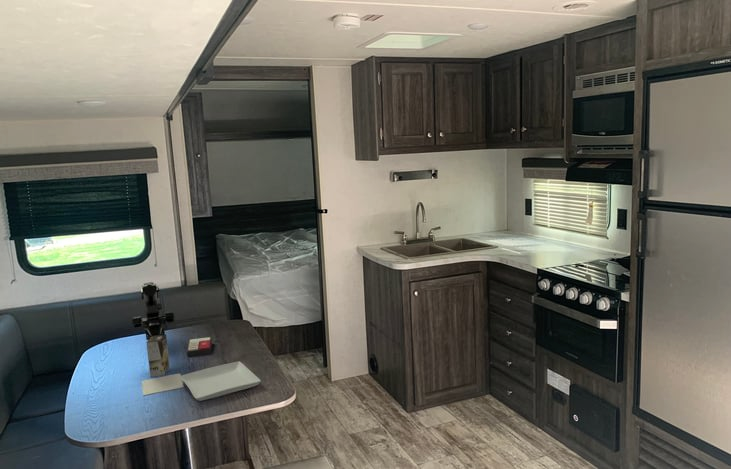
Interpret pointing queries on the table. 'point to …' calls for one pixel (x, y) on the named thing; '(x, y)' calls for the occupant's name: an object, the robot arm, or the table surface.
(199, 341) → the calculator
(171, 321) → the robot arm
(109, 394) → the table surface
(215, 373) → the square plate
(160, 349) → the coffee box
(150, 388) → the mat
